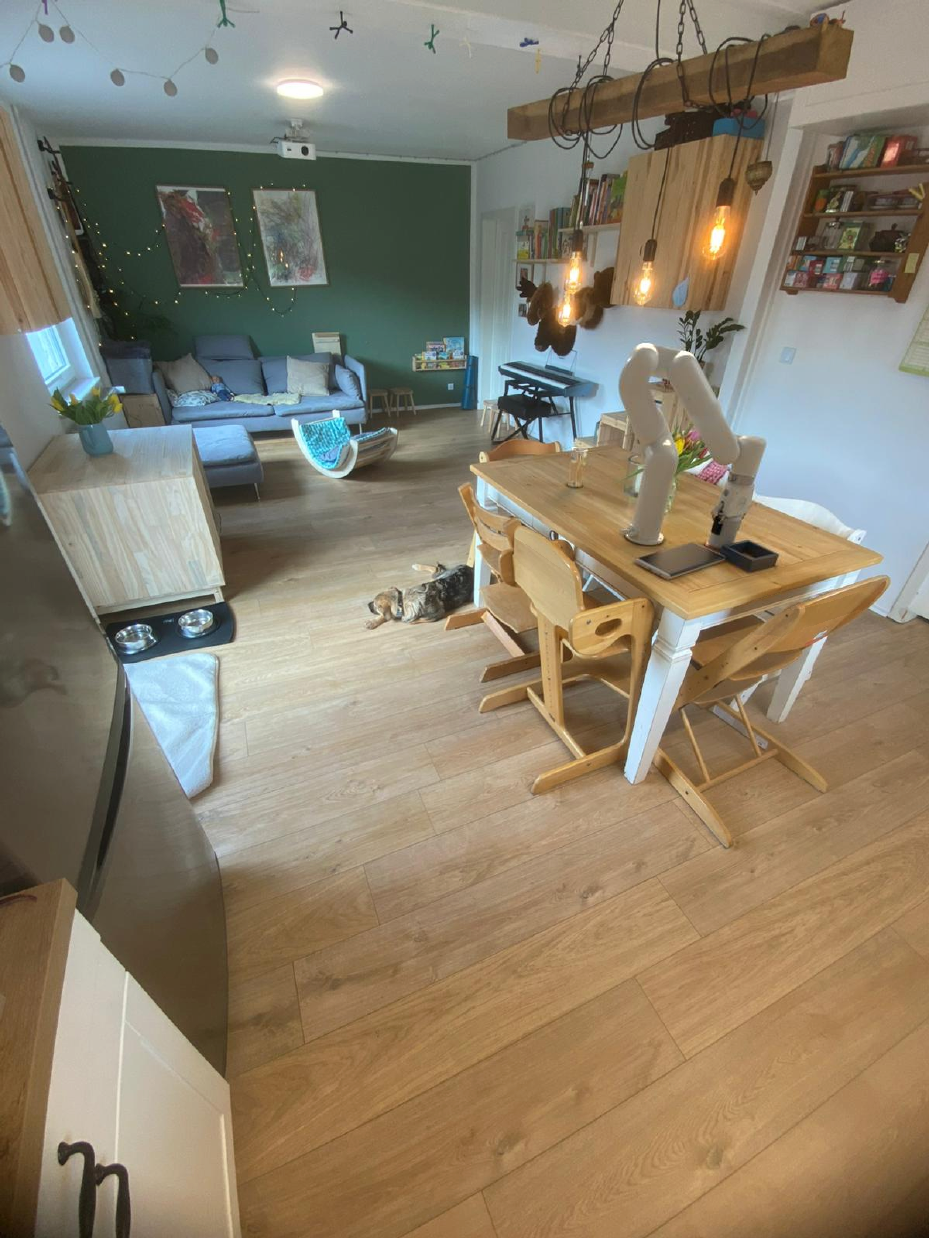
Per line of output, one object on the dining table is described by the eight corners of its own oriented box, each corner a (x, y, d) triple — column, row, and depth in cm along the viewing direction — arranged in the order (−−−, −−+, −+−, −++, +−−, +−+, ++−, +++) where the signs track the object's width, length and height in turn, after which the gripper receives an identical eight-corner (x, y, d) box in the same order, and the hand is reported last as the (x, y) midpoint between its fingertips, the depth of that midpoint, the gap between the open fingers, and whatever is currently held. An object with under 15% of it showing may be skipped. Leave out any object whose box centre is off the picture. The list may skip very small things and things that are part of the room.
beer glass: (585, 484, 225) (590, 448, 217) (579, 488, 220) (584, 452, 212) (570, 481, 228) (574, 446, 220) (563, 485, 223) (568, 449, 215)
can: (707, 548, 173) (718, 513, 167) (707, 539, 179) (718, 505, 172) (732, 552, 171) (743, 517, 164) (731, 543, 177) (743, 509, 170)
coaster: (719, 554, 171) (720, 553, 170) (699, 544, 177) (700, 542, 177) (738, 550, 174) (739, 549, 173) (718, 540, 180) (718, 538, 180)
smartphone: (633, 563, 164) (634, 558, 163) (690, 545, 176) (692, 540, 175) (667, 581, 154) (668, 576, 154) (725, 561, 167) (727, 556, 166)
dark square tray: (748, 572, 161) (752, 560, 158) (718, 556, 169) (722, 545, 167) (774, 566, 165) (779, 554, 163) (744, 550, 174) (748, 539, 171)
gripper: (730, 485, 157) (713, 540, 166) (771, 479, 163) (752, 532, 173) (710, 478, 162) (695, 531, 172) (751, 472, 169) (734, 523, 178)
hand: (724, 531), depth 172 cm, fingers closed on can, 7 cm apart
